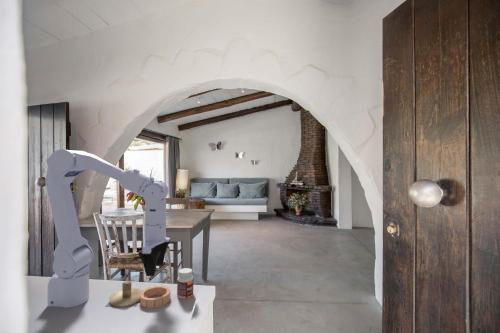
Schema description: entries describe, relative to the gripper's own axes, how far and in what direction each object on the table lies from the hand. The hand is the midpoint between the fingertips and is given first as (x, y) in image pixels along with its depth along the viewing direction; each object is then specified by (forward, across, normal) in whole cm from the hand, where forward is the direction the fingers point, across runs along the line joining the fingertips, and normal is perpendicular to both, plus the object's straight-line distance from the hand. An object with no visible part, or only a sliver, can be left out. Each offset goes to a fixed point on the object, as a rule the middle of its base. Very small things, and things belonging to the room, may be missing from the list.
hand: (154, 269), depth 77 cm
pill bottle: (+10, +3, -8) cm, 13 cm away
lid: (+9, +1, +8) cm, 12 cm away
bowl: (+10, 0, 0) cm, 10 cm away
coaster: (+10, +1, +8) cm, 13 cm away
